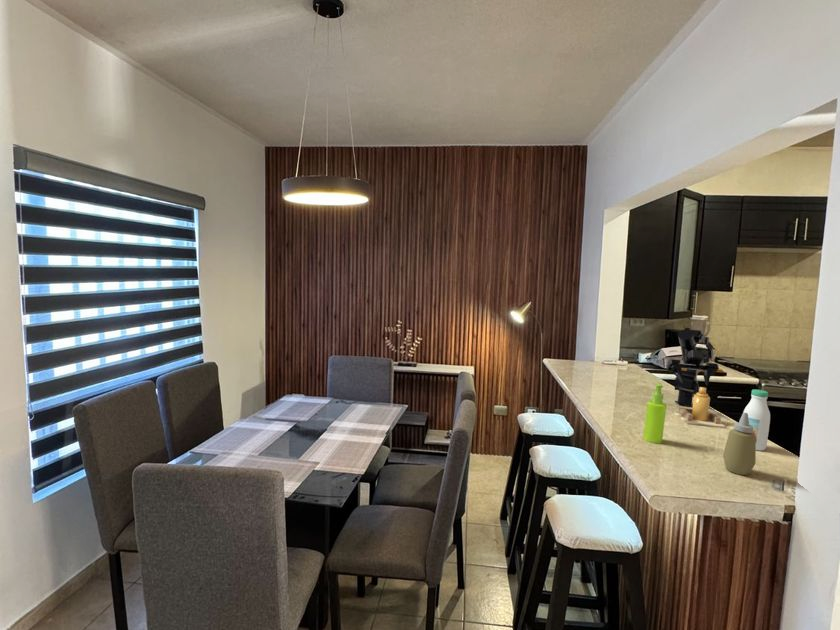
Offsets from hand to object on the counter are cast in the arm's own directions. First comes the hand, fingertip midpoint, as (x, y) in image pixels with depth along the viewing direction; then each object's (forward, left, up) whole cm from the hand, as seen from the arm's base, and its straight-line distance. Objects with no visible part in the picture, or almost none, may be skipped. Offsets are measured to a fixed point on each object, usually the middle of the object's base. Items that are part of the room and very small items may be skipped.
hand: (694, 383), depth 191 cm
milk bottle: (+33, +8, -14) cm, 36 cm away
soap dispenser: (+38, -26, -14) cm, 48 cm away
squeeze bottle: (+58, -8, -14) cm, 60 cm away
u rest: (+7, +1, -13) cm, 15 cm away
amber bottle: (+6, +1, -13) cm, 14 cm away
